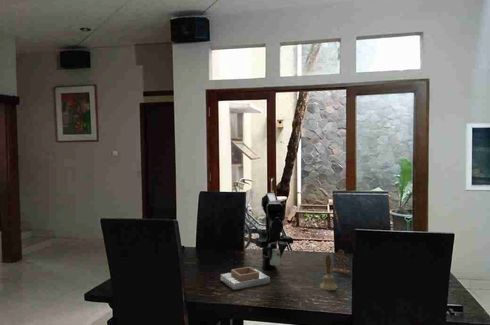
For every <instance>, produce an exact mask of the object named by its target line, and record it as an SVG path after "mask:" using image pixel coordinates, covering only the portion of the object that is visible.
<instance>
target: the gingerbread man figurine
mask: <svg viewBox="0 0 490 325" xmlns="http://www.w3.org/2000/svg"><path fill="white" fill-rule="evenodd" d="M333 257H334V258H335V260H337V264H336V265H335V267H334V268H332V270H331V272H332V273H338V274H345V275H348V274H350V273H351V270H349V269H348V268H347V266H346V265H345V264H349V259H348V257H347V256H345V251H344V250H343V249H339V250H338V251H337V252H334V253H333ZM337 257H338V258H337ZM343 258H345V259H346V260H345V259H343ZM339 264H340V265H339ZM338 265H339V267H338ZM343 266H344V267H343ZM349 272H350V273H349Z"/></svg>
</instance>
